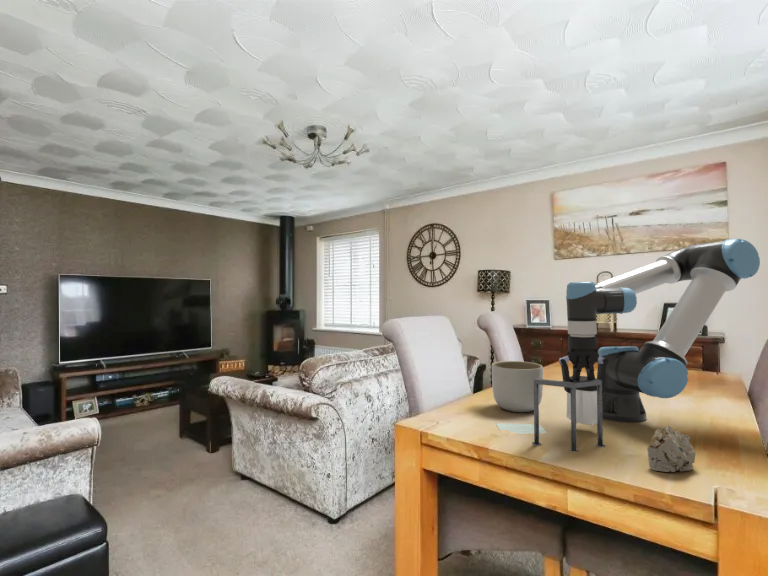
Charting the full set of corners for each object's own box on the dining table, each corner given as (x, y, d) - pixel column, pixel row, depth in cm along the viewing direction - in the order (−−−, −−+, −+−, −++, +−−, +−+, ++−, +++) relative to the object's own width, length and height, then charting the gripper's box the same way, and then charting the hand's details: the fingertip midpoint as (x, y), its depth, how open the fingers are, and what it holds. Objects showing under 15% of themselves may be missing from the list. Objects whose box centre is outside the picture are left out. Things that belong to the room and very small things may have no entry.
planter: (547, 406, 143) (547, 363, 143) (537, 418, 129) (536, 371, 129) (500, 399, 152) (499, 359, 153) (485, 411, 138) (485, 366, 138)
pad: (539, 425, 123) (539, 424, 123) (553, 441, 110) (553, 439, 110) (495, 424, 124) (495, 423, 124) (504, 439, 111) (504, 438, 111)
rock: (675, 471, 84) (671, 422, 88) (644, 468, 89) (642, 422, 94) (711, 483, 88) (705, 435, 92) (679, 479, 93) (675, 434, 98)
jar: (587, 427, 110) (588, 383, 110) (561, 418, 117) (561, 377, 117) (606, 421, 115) (607, 379, 114) (580, 413, 122) (580, 374, 121)
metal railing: (603, 446, 106) (602, 378, 106) (614, 455, 99) (613, 384, 100) (530, 444, 107) (529, 377, 108) (537, 453, 101) (536, 383, 101)
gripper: (605, 333, 119) (607, 413, 119) (549, 334, 120) (552, 413, 120) (617, 336, 111) (620, 421, 111) (558, 337, 113) (560, 421, 113)
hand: (584, 417), depth 116 cm, fingers open, 3 cm apart
